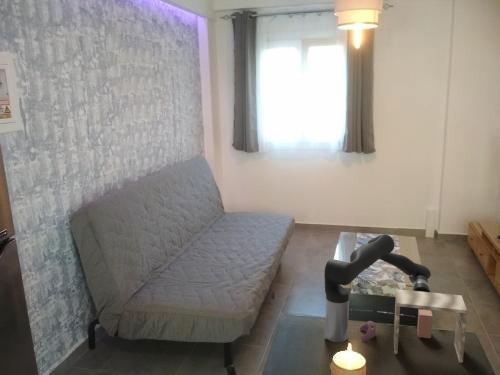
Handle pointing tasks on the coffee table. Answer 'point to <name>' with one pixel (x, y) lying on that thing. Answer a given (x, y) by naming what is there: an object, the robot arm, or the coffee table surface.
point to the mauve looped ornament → (368, 330)
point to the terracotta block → (424, 323)
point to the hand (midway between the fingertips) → (423, 306)
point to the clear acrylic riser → (433, 303)
